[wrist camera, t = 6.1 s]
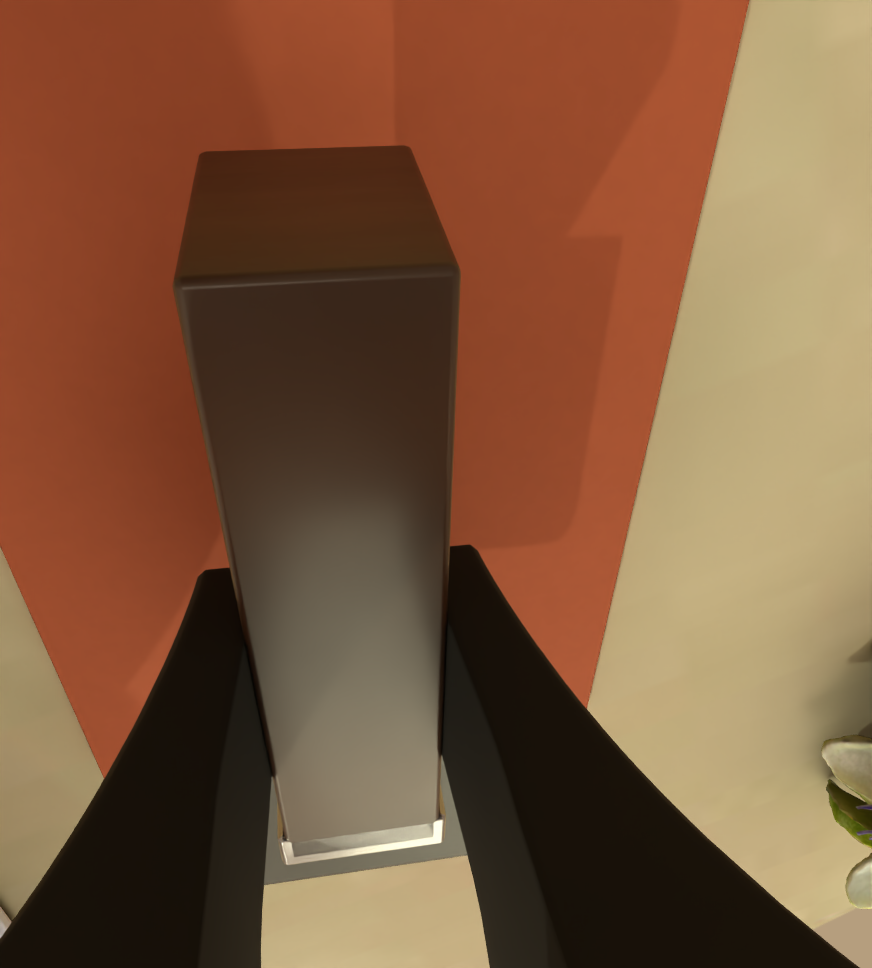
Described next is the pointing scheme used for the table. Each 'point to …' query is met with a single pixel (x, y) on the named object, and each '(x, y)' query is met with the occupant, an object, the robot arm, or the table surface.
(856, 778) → the passion flower
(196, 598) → the robot arm
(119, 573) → the mat
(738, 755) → the table surface
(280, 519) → the spatula
